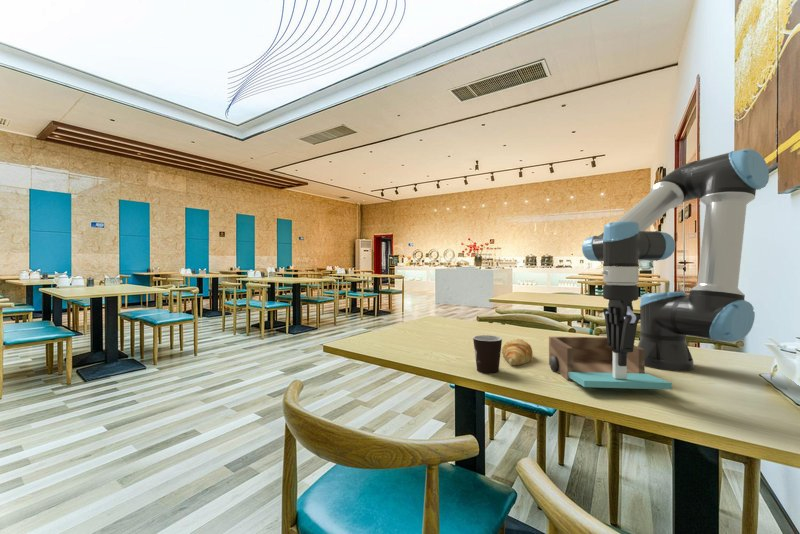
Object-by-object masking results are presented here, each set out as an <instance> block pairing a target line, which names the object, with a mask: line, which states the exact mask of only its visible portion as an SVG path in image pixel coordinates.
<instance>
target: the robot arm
mask: <svg viewBox="0 0 800 534" xmlns="http://www.w3.org/2000/svg"><path fill="white" fill-rule="evenodd" d="M769 179H770V173H769V167H768V164H767V162H766V160H765V158H764V157H763V155H761V153H760V152H758V151H757V150H755V149H753V148H745V149H739V150H731V151H729V152H726V153H723V154H718V155H715V156H710V157H706V158H704V159H703V158H701V159H699V160H695V161H694V160H693V161H691V162H687V163H685V164H683V165H681V166H679V167H677V168H676V169H674V170H672V171H671V172H669V173H668V174H666V175H665V176H664V177H663V178H661V179H660V180H658V181H657V182H656V183H655V184H653V186H652V187H651V188H650V189H649V193H648V194H647V195H645V196H644V197H643V198H642V199H641V200H640V201H639V202H637V203H636V204H635V205H634V206H633V207H631V208H630V209H629V210H628V211H627V212H625V214H623V215H622V216H621V217H620V218H618V220H617V221H614V222H613V221H611V222H608V223H606V224H605V225H604V226H603V232H602V233H601V234H599V235H592V236H588V237H586V238H585V239H584V241H583V242H582V247H581V251H582V254H583V256H584V258H585V259H587V260H588V261H591V262H602V264H603V265H602V266H603V267H602V268H603V270H601V274H602V276H603V277H602V278H603V279H602V280H603V282H604V283H605V284H603V285H602V298H603V300H604V299H605V300H608V305H607V306H608V307H607V308H603V309H602V312H603V316H604V324H605V330H606V337H607V342H608V346H611V349H612V350H613V377H614V378H619V379H627V353H629V352H633V348H634V345H635V341H636V335H637V329H638V324H639V321H640V339H639V341H638V343H637V345H636V346H637V347H640V348H642V349H644V362H645V367H648V368H649V367H650V368H653V369H654V368H655V369H660V370H667V371H677V372H678V371H682V372H683V371H690V370H693V369H694V365H695V364H694V363H695V361H694V359H693V356H692V353H691V351H690V349H689V345H688V343H687V336H689V337H695V338H699V339H706V340H712V341H715V342H727V343H736V342H739V341H742V340H743V339H745V337H746V336H748V334H749V333H750V332H751V330H752V328H753V326H754V323H755V316H756V315H755V314H756V313H755V311H754V309H755V308H754V306H753V305H752V303H751V302H749V301H747V300H745V293H744V292H743V291H741V290H740V289H739V280H740V273H741V260H742V251H743V244H744V243H743V242H744V233H745V222H746V214H747V205H748V204H750V202H752V201H754V200H755V199H756V192H757V191H758V190H759V191H760V190H762V189H763V188H766V187H767V184H768V183H769V181H770V180H769ZM697 199H699V201H700V202H701V203H703V204H704V205H705V211H704V222H703V231H702V240H701V247H700V257H699V265H698V266H699V267H698V273H697V274H698V275H697V284H696V285H695V286H693V287H692V288H690V289H689V294H688V295H689V296H688V295H687V294H686V292H685V291H668V292H667V291H666V292H651V293H648V292H647V293H643V294H642V295H641V297H640V305H639V308H640V309H639V310H640V311H639V312H640V315H639V314H635V313H634V307H633V301H634V302H635V301H637V300H639V286H638V285H636V284H638V283H639V278H640V277H639V272H640V271H639V270H640V269H639V268H640V267H639V261H651V262H652V261H655V262H658V261H662V260H667V259H668V258H670V257H671V256H672V255H673V254H674V252H675V249H676V241H675V239H674V237H673V236H672V235H671V234H669V233H668V232H663V231H658V230H655V231H652V230H651V231H647V230H648V229H649V228H650V227H651V226H653V225H654V224H655V223H656V222H657V221H658V220H660V218H662V216H664V214H667V212H668V211H670V209H675V208H677V207H679V206H680V205H681V204H683V203H685V202H688V201H692V200H697Z"/></svg>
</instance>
